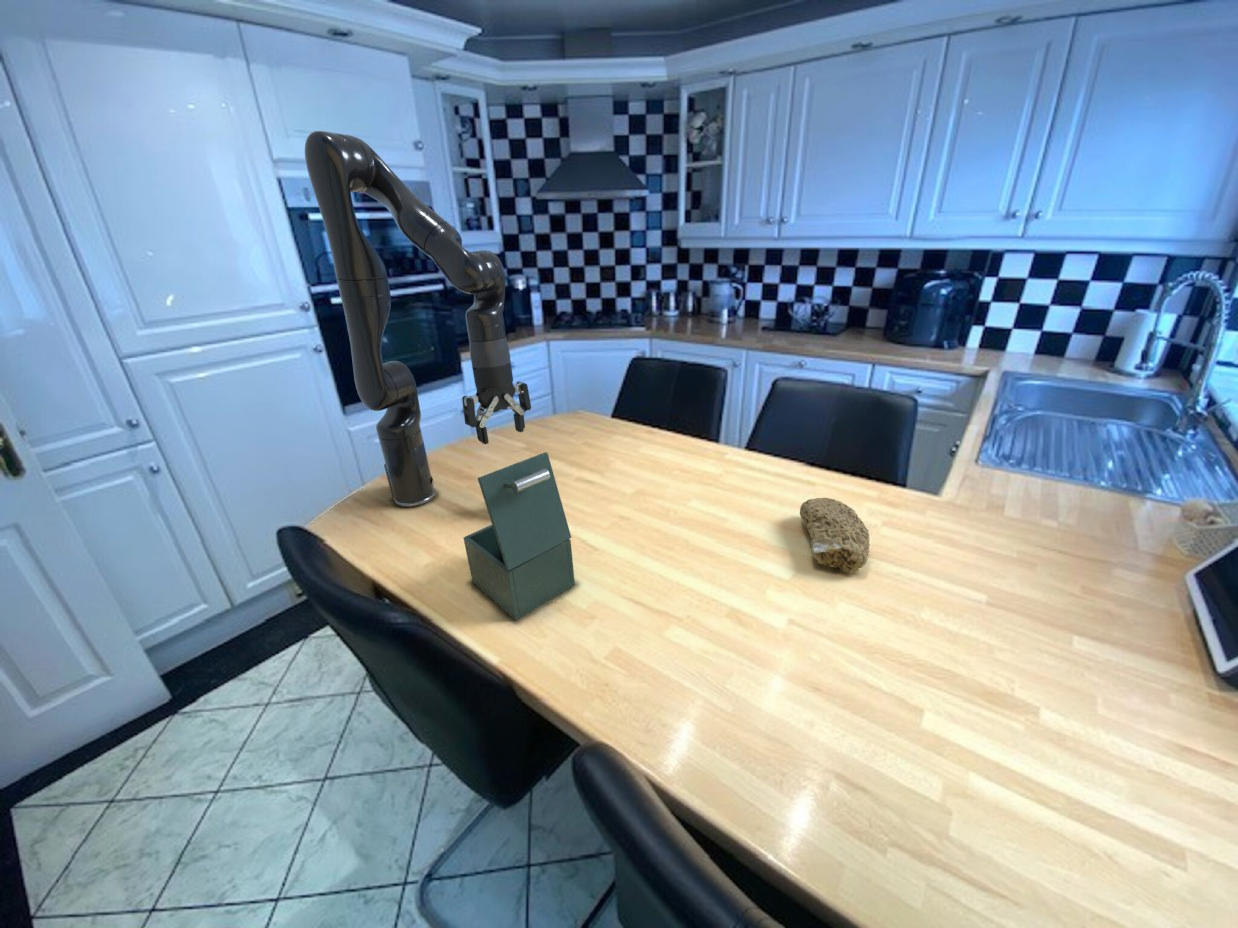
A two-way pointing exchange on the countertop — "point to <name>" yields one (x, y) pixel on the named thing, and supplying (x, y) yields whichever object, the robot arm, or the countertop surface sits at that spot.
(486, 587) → the bin
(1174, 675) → the countertop surface
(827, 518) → the sponge
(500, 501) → the bin lid
